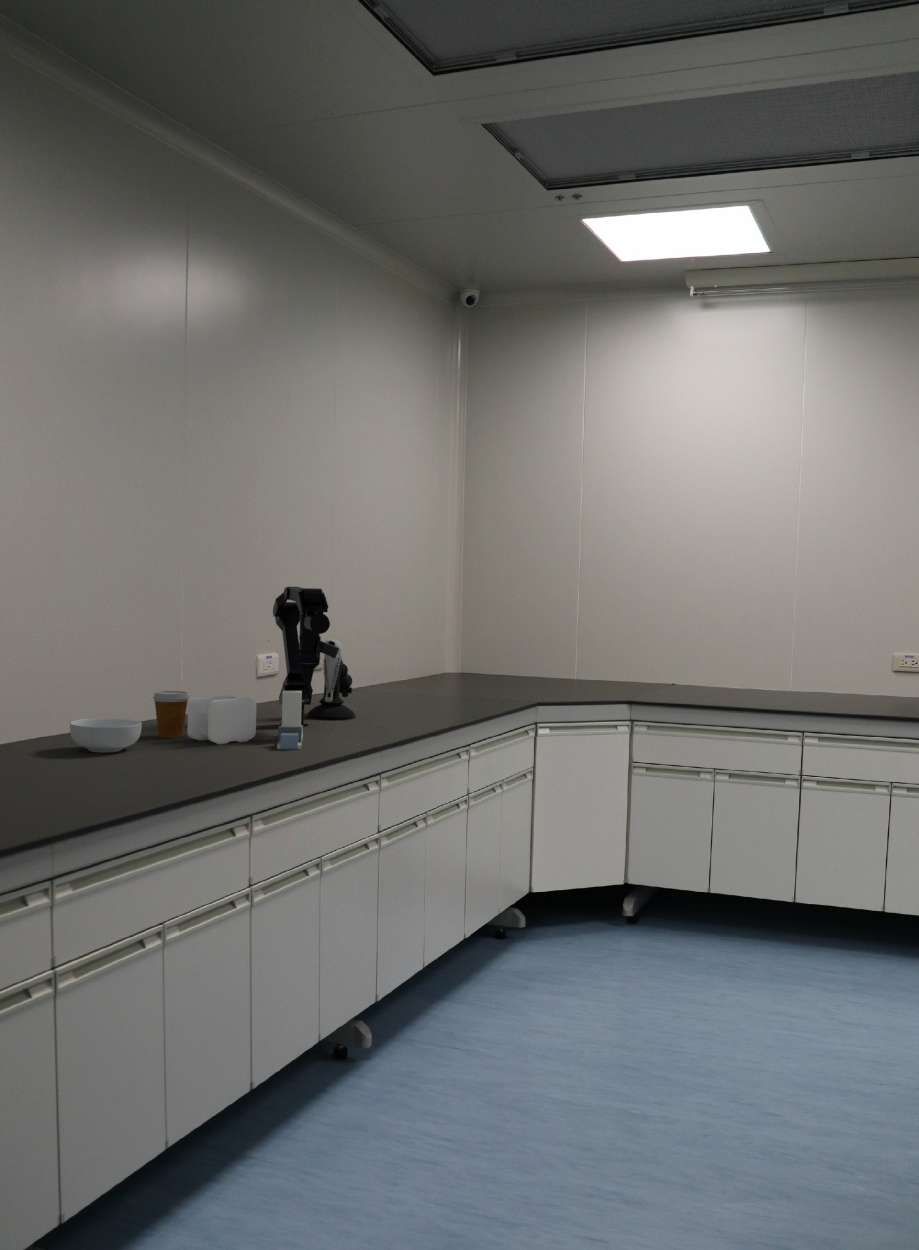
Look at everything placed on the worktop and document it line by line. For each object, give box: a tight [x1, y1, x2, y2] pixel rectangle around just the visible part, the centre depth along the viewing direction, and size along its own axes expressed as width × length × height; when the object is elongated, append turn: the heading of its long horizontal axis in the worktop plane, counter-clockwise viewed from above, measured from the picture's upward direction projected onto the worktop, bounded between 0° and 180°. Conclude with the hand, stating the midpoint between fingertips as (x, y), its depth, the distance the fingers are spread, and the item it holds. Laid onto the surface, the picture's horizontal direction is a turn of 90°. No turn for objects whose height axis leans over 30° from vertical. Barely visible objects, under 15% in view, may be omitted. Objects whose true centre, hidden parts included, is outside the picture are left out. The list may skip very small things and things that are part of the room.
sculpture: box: [306, 638, 356, 721], centre depth 337 cm, size 15×24×25 cm, turn 170°
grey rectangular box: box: [281, 691, 303, 726], centre depth 284 cm, size 5×5×12 cm
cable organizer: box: [186, 695, 257, 745], centre depth 278 cm, size 15×11×12 cm
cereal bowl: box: [69, 717, 143, 754], centre depth 259 cm, size 17×17×7 cm
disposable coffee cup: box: [152, 690, 190, 739], centre depth 283 cm, size 10×10×12 cm
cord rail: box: [276, 724, 304, 750], centre depth 279 cm, size 24×6×5 cm, turn 7°
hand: (308, 686), depth 299 cm, fingers open, 3 cm apart
